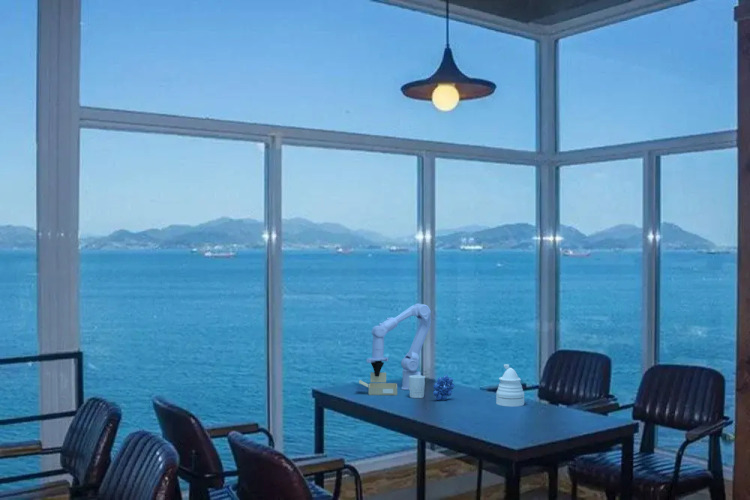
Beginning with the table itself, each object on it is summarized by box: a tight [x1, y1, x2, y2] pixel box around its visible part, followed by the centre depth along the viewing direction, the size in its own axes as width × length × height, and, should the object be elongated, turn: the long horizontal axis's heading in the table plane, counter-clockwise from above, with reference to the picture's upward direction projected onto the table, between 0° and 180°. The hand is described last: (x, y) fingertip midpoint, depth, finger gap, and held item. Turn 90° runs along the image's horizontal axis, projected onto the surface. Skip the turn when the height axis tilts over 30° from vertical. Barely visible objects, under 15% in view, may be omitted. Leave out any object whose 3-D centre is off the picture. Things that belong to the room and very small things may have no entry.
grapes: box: [432, 374, 455, 401], centre depth 366 cm, size 12×7×12 cm, turn 117°
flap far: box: [358, 379, 369, 388], centre depth 382 cm, size 1×8×5 cm
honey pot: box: [495, 363, 525, 408], centre depth 358 cm, size 13×13×18 cm
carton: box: [368, 382, 398, 396], centre depth 384 cm, size 14×14×4 cm
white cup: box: [409, 374, 426, 399], centre depth 373 cm, size 8×8×10 cm
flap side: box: [369, 371, 387, 383], centre depth 392 cm, size 8×1×5 cm, turn 89°
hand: (376, 376), depth 391 cm, fingers closed, pressing on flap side
